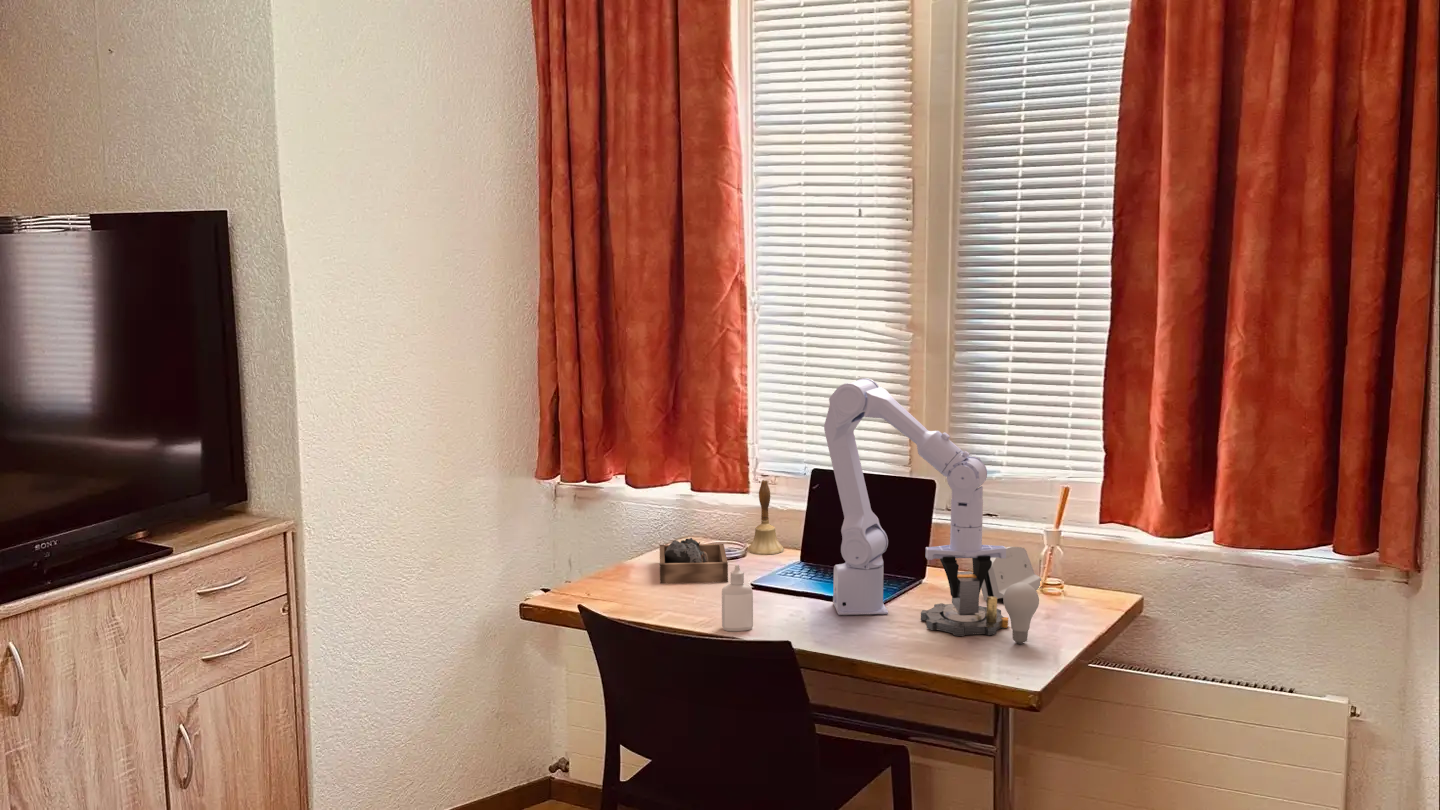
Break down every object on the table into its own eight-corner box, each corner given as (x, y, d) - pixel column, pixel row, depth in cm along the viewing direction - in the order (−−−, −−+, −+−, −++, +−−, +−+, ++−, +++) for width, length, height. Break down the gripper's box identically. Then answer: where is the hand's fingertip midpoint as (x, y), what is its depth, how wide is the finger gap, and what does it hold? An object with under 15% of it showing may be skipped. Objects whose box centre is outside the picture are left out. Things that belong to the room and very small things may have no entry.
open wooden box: (660, 583, 259) (659, 564, 258) (659, 562, 275) (659, 544, 274) (727, 582, 259) (727, 563, 259) (723, 561, 275) (723, 543, 275)
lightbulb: (997, 638, 223) (999, 578, 222) (1031, 637, 224) (1032, 577, 222) (1008, 650, 217) (1009, 588, 216) (1042, 649, 218) (1044, 587, 216)
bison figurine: (696, 581, 259) (731, 568, 266) (693, 549, 258) (728, 536, 265) (658, 571, 268) (693, 558, 275) (655, 540, 267) (690, 527, 273)
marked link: (959, 613, 228) (960, 580, 227) (951, 602, 234) (952, 570, 233) (978, 612, 228) (979, 580, 227) (970, 602, 234) (971, 570, 233)
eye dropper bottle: (747, 633, 227) (747, 569, 225) (718, 630, 229) (718, 566, 227) (755, 626, 231) (755, 563, 229) (727, 623, 233) (727, 560, 231)
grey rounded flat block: (1006, 605, 243) (992, 555, 244) (985, 608, 246) (971, 559, 247) (1044, 585, 256) (1030, 538, 256) (1023, 589, 259) (1010, 542, 259)
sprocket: (981, 641, 221) (981, 609, 220) (906, 624, 231) (907, 593, 230) (1021, 620, 233) (1022, 590, 232) (948, 604, 243) (949, 575, 242)
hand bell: (744, 554, 282) (743, 484, 279) (751, 544, 290) (750, 476, 287) (780, 555, 280) (780, 485, 277) (786, 546, 288) (786, 478, 285)
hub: (948, 630, 228) (948, 615, 228) (939, 617, 235) (939, 603, 235) (989, 629, 228) (990, 614, 228) (979, 616, 236) (979, 602, 235)
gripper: (931, 530, 225) (930, 603, 227) (1011, 528, 226) (1009, 601, 228) (923, 521, 232) (922, 592, 234) (1001, 519, 233) (999, 590, 235)
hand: (964, 596), depth 231 cm, fingers closed on marked link, 3 cm apart
